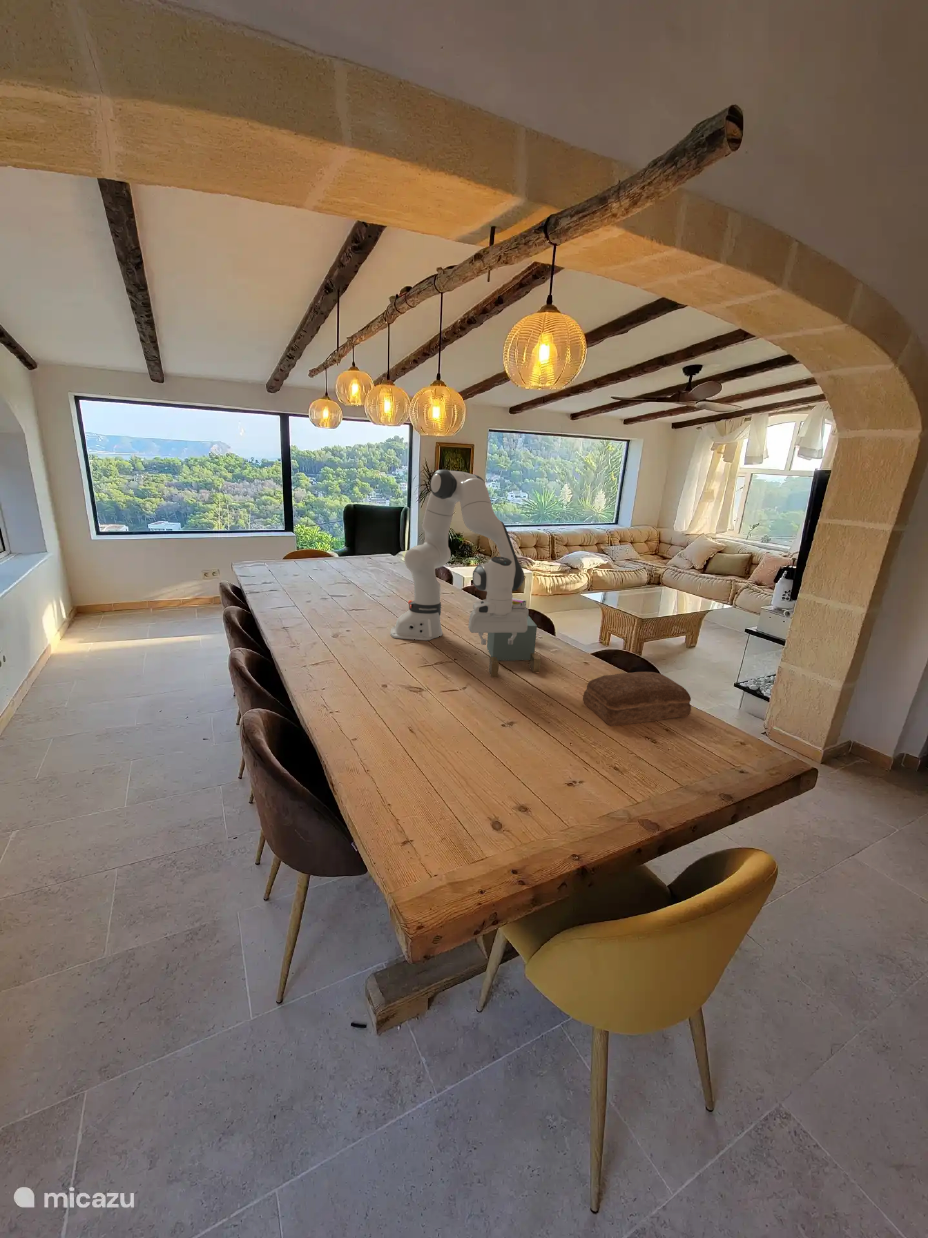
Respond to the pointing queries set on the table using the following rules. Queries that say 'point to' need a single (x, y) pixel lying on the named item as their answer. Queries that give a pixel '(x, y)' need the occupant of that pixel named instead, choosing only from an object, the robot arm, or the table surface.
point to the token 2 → (535, 662)
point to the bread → (636, 698)
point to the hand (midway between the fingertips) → (497, 644)
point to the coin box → (520, 647)
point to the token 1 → (493, 666)
